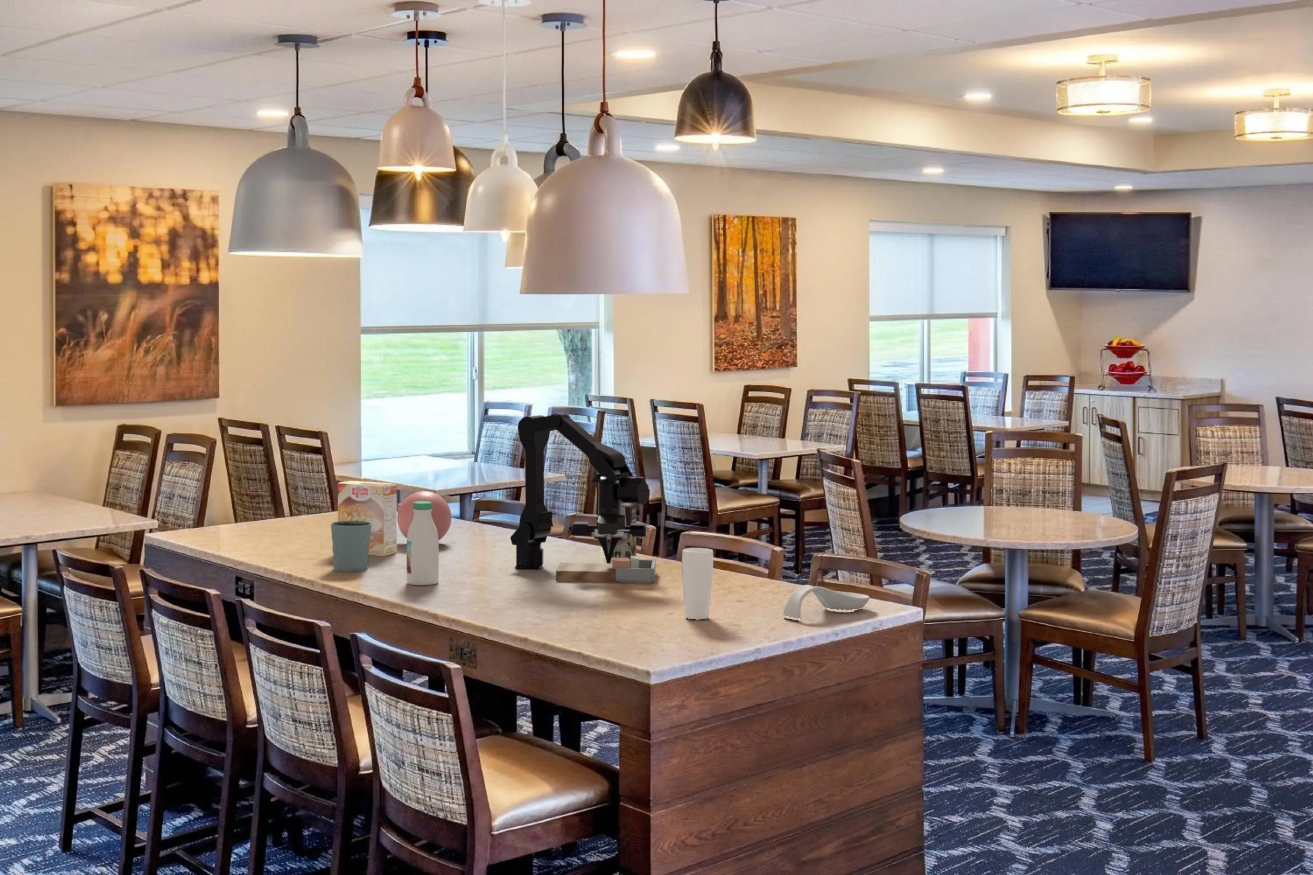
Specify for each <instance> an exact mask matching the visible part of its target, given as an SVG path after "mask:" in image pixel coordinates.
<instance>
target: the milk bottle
mask: <svg viewBox="0 0 1313 875" xmlns="http://www.w3.org/2000/svg"><path fill="white" fill-rule="evenodd" d="M413 511H414V517H413V520H412V523H411V525H410V527H409V530H408V534H407V538H406V583H407V584H408V585H412V586H431V585H435V584H438V583H439V577H440V574H439V573H440V571H439V570H440V569H439V568H440V567H439V566H440V564H439V563H440V562H439V560H440V558H439V557H440V556H439V555H440V554H439V549H440V548H439V541H438V532H437V529H436V526H435V524H434V522H433V519H432V516H431V511H432V502H428V501H418V502H414V503H413Z"/></svg>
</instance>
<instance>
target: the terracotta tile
mask: <svg viewBox="0 0 1313 875" xmlns="http://www.w3.org/2000/svg"><path fill="white" fill-rule="evenodd" d="M611 567H612V569H616V568H630V559H629V558H612V559H611Z"/></svg>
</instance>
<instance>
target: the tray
mask: <svg viewBox="0 0 1313 875" xmlns="http://www.w3.org/2000/svg"><path fill="white" fill-rule="evenodd" d="M656 562H657V560H656V559H640V558H639V568H616V582H615V583H618V584H621V583H623V584H624V583H625V584H626V583H627V584H633V583H634V584H637V583H638V584H654V583H655V579H656V574H655V573H657V570H656V566H657V565H656V564H657V563H656Z"/></svg>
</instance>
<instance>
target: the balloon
mask: <svg viewBox="0 0 1313 875" xmlns="http://www.w3.org/2000/svg"><path fill="white" fill-rule="evenodd" d="M418 501H428V502H432V511H431V516H432V519H433V522H434V524H435V526H436V529H437V532H438V542H439V541H440V540H441V539H442V538H445V536H446V535H447V533H448V531H449V530H450V527H451V524H452V511H451V508H450V506H449V504H448V502H447V500H445V498H443V497H442V496H441V495H440V494H438V493H435V492H432V491H427V490H421V491H420V490H419V491H416V492H414V493H412V494H410V495H408V496H407V497H405V499H404V500H402V502H401V503H398V504H397V527H398V528H399V530H400V533H401V534H402V535H403V536H404V538H405V539H407V534H408V530H409V527H410V525H411V523H412V520H413V517H414V511H413V503H414V502H418Z"/></svg>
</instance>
